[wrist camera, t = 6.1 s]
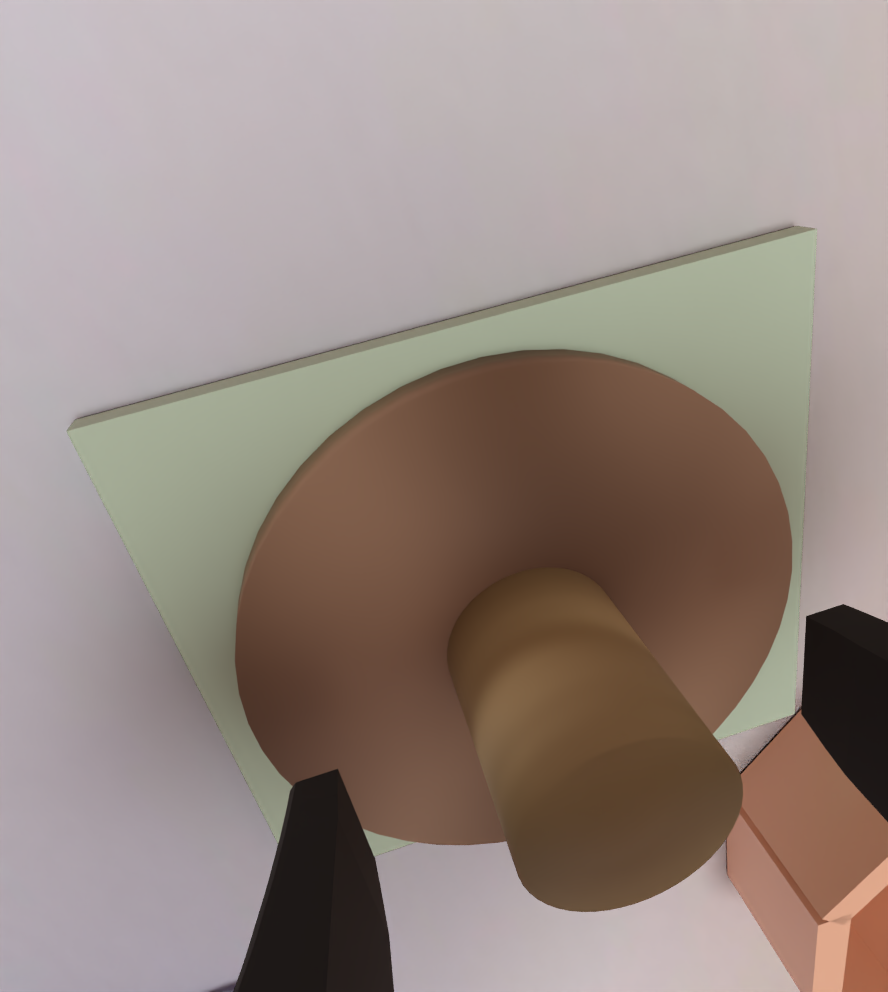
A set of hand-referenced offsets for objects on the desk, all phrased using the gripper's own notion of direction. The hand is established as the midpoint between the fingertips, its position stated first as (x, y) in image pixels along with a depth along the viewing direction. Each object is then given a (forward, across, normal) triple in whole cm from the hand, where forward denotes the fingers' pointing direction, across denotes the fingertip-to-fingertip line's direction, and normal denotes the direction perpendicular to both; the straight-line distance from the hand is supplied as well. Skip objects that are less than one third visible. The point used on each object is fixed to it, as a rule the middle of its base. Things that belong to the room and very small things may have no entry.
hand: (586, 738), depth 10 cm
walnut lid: (+3, 0, 0) cm, 3 cm away
